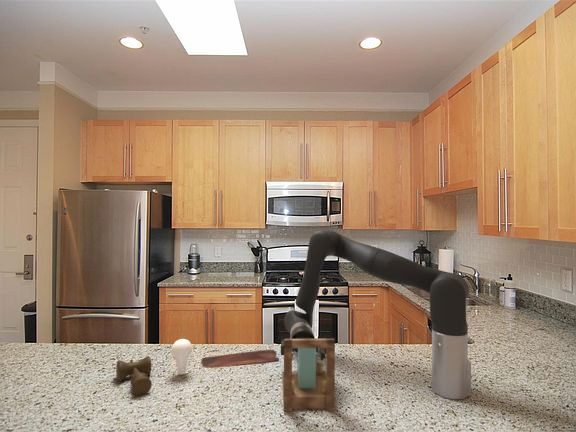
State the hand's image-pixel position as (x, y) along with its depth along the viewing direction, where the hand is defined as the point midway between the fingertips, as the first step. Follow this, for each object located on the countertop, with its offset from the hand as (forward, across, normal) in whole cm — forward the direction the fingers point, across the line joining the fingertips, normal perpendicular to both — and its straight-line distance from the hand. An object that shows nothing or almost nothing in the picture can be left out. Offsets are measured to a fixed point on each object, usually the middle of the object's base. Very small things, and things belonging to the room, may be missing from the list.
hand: (306, 357), depth 93 cm
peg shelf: (-2, 0, +11) cm, 11 cm away
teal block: (-2, 0, +8) cm, 8 cm away
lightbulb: (-15, -38, +11) cm, 42 cm away
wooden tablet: (-26, -21, +12) cm, 36 cm away
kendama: (-11, -50, +12) cm, 53 cm away
